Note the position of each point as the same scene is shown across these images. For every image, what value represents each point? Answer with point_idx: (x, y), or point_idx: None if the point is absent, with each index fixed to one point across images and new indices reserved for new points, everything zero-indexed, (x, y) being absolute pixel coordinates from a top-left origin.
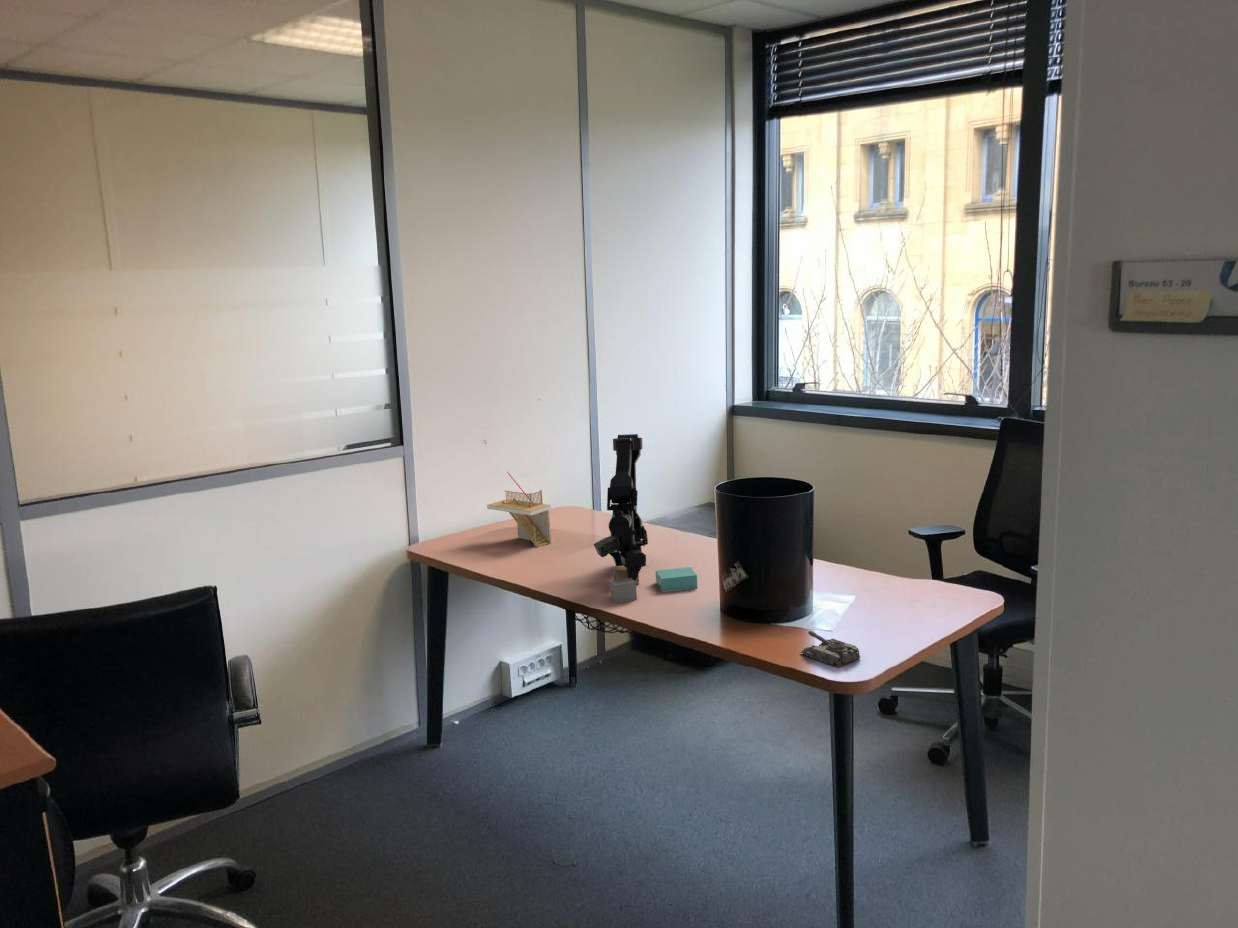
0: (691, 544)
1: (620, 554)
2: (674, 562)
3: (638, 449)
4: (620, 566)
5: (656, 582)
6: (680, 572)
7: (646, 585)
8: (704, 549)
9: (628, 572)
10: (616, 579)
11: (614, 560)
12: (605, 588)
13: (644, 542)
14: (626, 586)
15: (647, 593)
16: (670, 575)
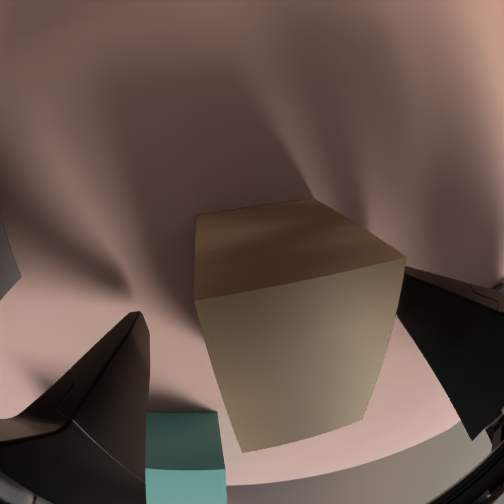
0: (454, 416)
1: (497, 381)
2: (401, 423)
3: None
4: (369, 339)
5: (208, 416)
6: (164, 496)
7: (186, 379)
8: (418, 442)
9: (48, 389)
10: (263, 223)
11: (495, 295)
12: (208, 98)
13: (486, 429)
14: None
15: (50, 354)
16: None
